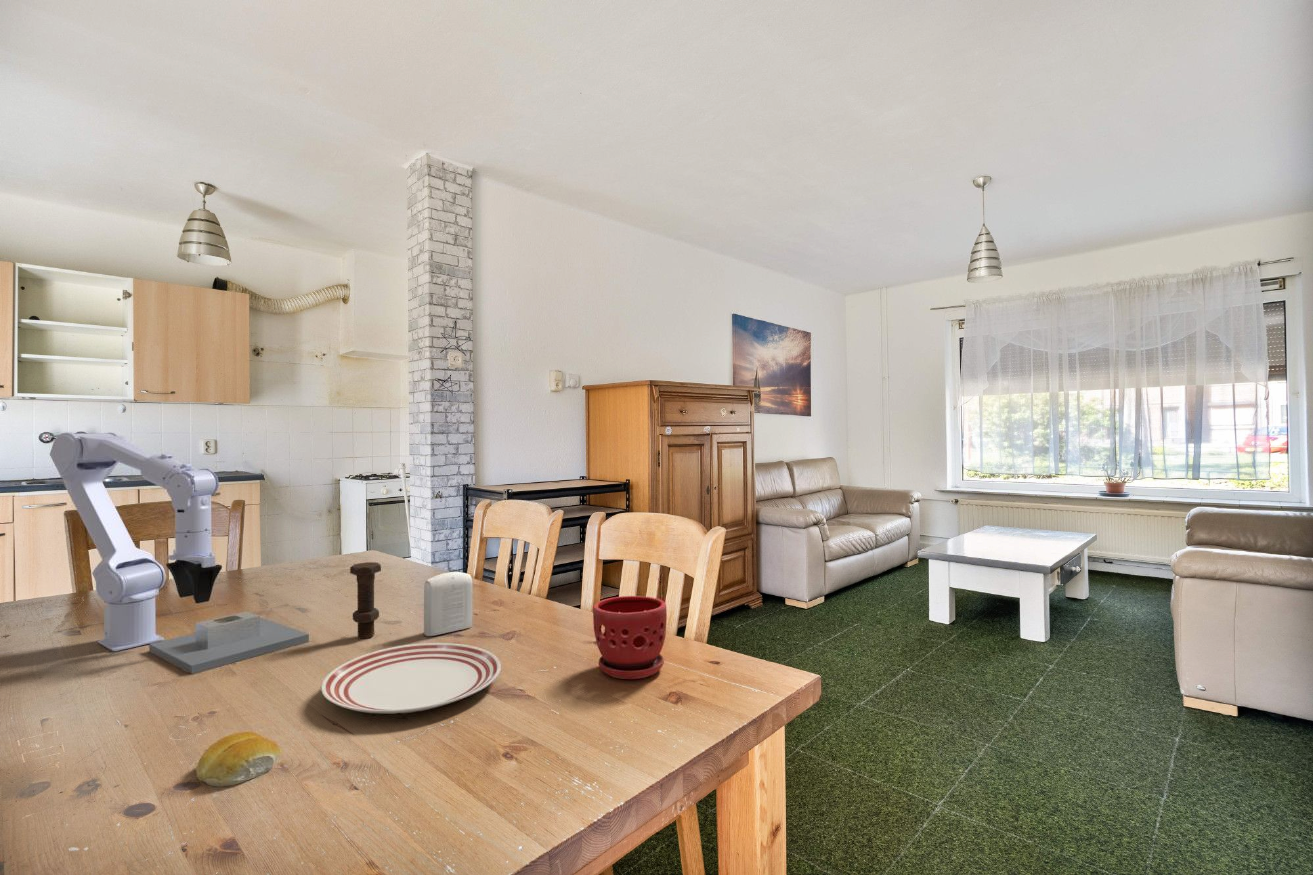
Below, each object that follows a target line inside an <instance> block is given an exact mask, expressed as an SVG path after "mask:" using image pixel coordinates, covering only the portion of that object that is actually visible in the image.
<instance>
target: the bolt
mask: <svg viewBox="0 0 1313 875" xmlns="http://www.w3.org/2000/svg"><path fill="white" fill-rule="evenodd" d="M349 572H350V573H349V574H352V575H355V576H356V582H357V584H356V586H357V587H356V588H357V596H356V597H357V598H356V599H357V600H356V601H357V608H356V609H357V610H355V611H354V612H353V613H352V620H353V622H355V623H357V637H358V638H359V639H370V638H372V637H374V635H375V621H376V620H378V618H380V611H379V609H378V608H376V607H375V578H376V575H375V574H376V573H379V572H382V565H381V564H380V563H379V562H372V561H370V562H369V561H367V562H359V563H354V564H352V565H351V566H350V567H349Z"/></svg>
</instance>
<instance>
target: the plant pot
mask: <svg viewBox="0 0 1313 875" xmlns="http://www.w3.org/2000/svg"><path fill="white" fill-rule="evenodd" d="M667 611H668V610H667V603H666V602H665V601H664V600H662V599H661V598H656V597H651V596H644V595H643V596H642V595H626V596H625V595H624V596H622V595H621V596H614V597H610V598H604V599H602V600H600V601H597V602H596V603H594V604H593V606H592V614H593V616H592V618H593V622H592V623H593V632H594V636H595V642H596V646H597V649H598V651H599V653H600V655H601V657H600V658H599V660H598V667H599V668H600V670H601V671H602V672H603V673H605V674H606V675H608V676H611V677H613V678H617V679H620V680H621V679H623V680H637V679H643V678H647V677H648V676H650V675H651V676H653V675H655V674H656V673H658V672H659V671H660V670H661V668H662V667H663V666H664V663H665V659H664V657H663V655H662V654H661V651H662V649H663V647H664V644H665V639H666V634H667V620H668V619H667V618H668V615H667ZM602 627H604V631H603V632H602ZM651 676H650V677H651ZM648 678H649V677H648Z"/></svg>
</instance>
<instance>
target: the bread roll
mask: <svg viewBox="0 0 1313 875" xmlns="http://www.w3.org/2000/svg"><path fill="white" fill-rule="evenodd" d="M280 754H281V752H280V746H279V745H278V743H276V742H275V741H274V740H271V739H268V738H267V737H264V736H262V735H261V734H259V733H257V732H253V731H241V732H236V733H233V734H229V735H227V736H224V737H222V738H220V739H218V740H217V741H215V742H214V743H212V744H211V745H210V746H208V748H207V749H206V750H205V751H204V752H203V753H202V755H201V756H200V758H199V760H198V763H197V765H196V769H195V771H196V777H197V779H198V780H199V781H201V782H204V783H206V784H207V785H208V786H212V787H230V786H235V785H239V784H242V783H245V782H248V781H250V780H252V779H256V778H259V777H260V776H262V775H264V774H266V773H267V772H269V771H270V770H272V768H273V767H274V766H275V763H277V761H278V759H279V757H280ZM247 780H248V781H247Z"/></svg>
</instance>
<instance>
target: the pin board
mask: <svg viewBox="0 0 1313 875" xmlns="http://www.w3.org/2000/svg"><path fill="white" fill-rule="evenodd" d="M308 641H309V642H310V633H307V632H303V631H301V630H298V629H295V628H292V627H290V626H288V625H284V624H281V623H278V622H277V621H276V622H275V621H272V620H270V619H267V618H264V617H260V636H257V637H253V638H249V639H246V640H242V641H238V642H234V643H230V644H226V645H222V646H218V647H214V648H210V649H206V648H204V647H202V646H200V645H198V644H196V643H195V633H190V634H187V635H182V636H177V637H173V638H168V639H164V640H162V641H158V642H153V643H149V644H148V649H149V650H148V652H149V653H151V654H153V655H154V656H157V657H158V658H160V659H162V660H164V661H166V662H168V663H170V664H171V665H173V666H175V667H177V668H179V669H181V670H183V671H185V672H187V673H189V674H190V675H194V674H198V673H201V672H205V671H209V670H212V669H215V668H218V667H222V666H226V665H230V664H234V663H237V662H241V661H245V660H247V659H251V658H255V657H259V656H262V655H266V654H269V653H273V652H276V651H280V650H285V649H287V648H291V647H294V646H297V645H302V644H305V643H309V642H308Z"/></svg>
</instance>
